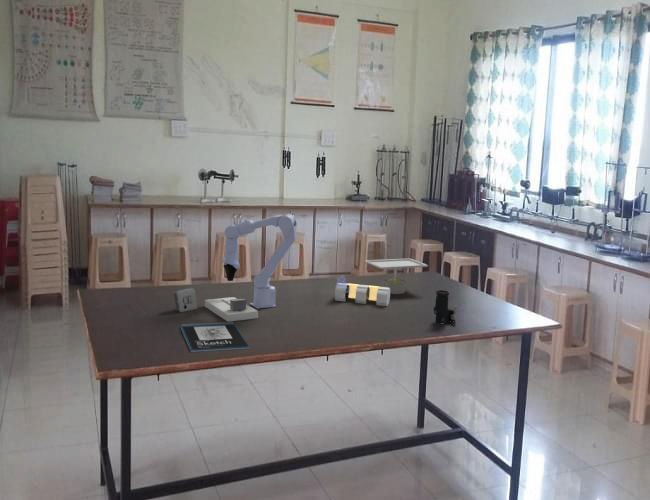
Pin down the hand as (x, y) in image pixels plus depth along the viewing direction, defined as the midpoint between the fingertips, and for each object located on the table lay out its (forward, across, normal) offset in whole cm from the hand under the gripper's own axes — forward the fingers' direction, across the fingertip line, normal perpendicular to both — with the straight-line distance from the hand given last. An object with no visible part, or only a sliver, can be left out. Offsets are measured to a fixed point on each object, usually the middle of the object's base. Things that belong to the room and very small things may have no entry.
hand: (230, 280), depth 306 cm
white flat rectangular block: (+10, +14, -6) cm, 18 cm away
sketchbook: (+11, +43, -26) cm, 51 cm away
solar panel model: (+9, +10, +88) cm, 89 cm away
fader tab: (+7, +21, -6) cm, 23 cm away
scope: (+9, +63, +72) cm, 96 cm away
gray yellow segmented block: (+10, +20, +60) cm, 64 cm away
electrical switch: (+11, +3, -22) cm, 25 cm away
